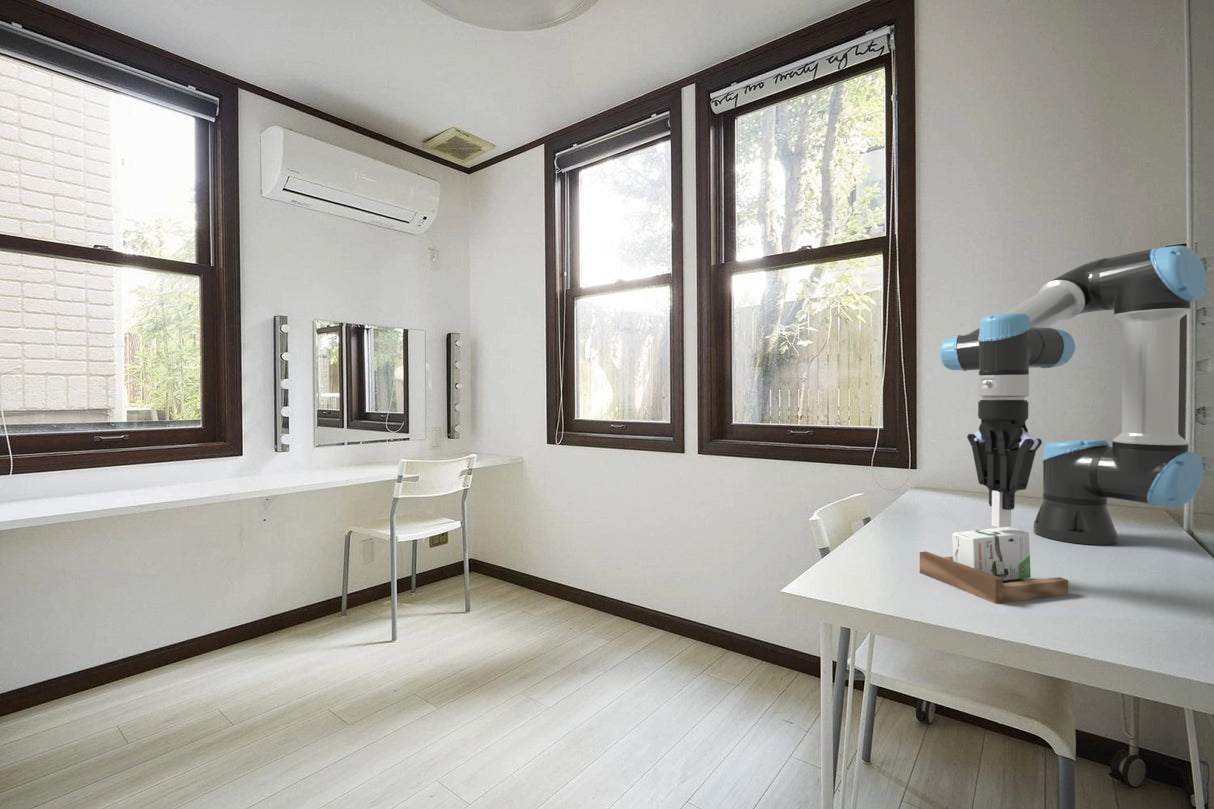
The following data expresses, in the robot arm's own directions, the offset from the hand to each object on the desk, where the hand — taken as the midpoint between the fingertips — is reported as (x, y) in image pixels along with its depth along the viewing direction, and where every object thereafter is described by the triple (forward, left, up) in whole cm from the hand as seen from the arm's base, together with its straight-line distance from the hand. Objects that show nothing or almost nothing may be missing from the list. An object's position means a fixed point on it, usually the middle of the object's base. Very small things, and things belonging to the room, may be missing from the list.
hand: (1001, 525), depth 101 cm
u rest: (+3, +1, -10) cm, 11 cm away
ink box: (-4, 0, -5) cm, 6 cm away
